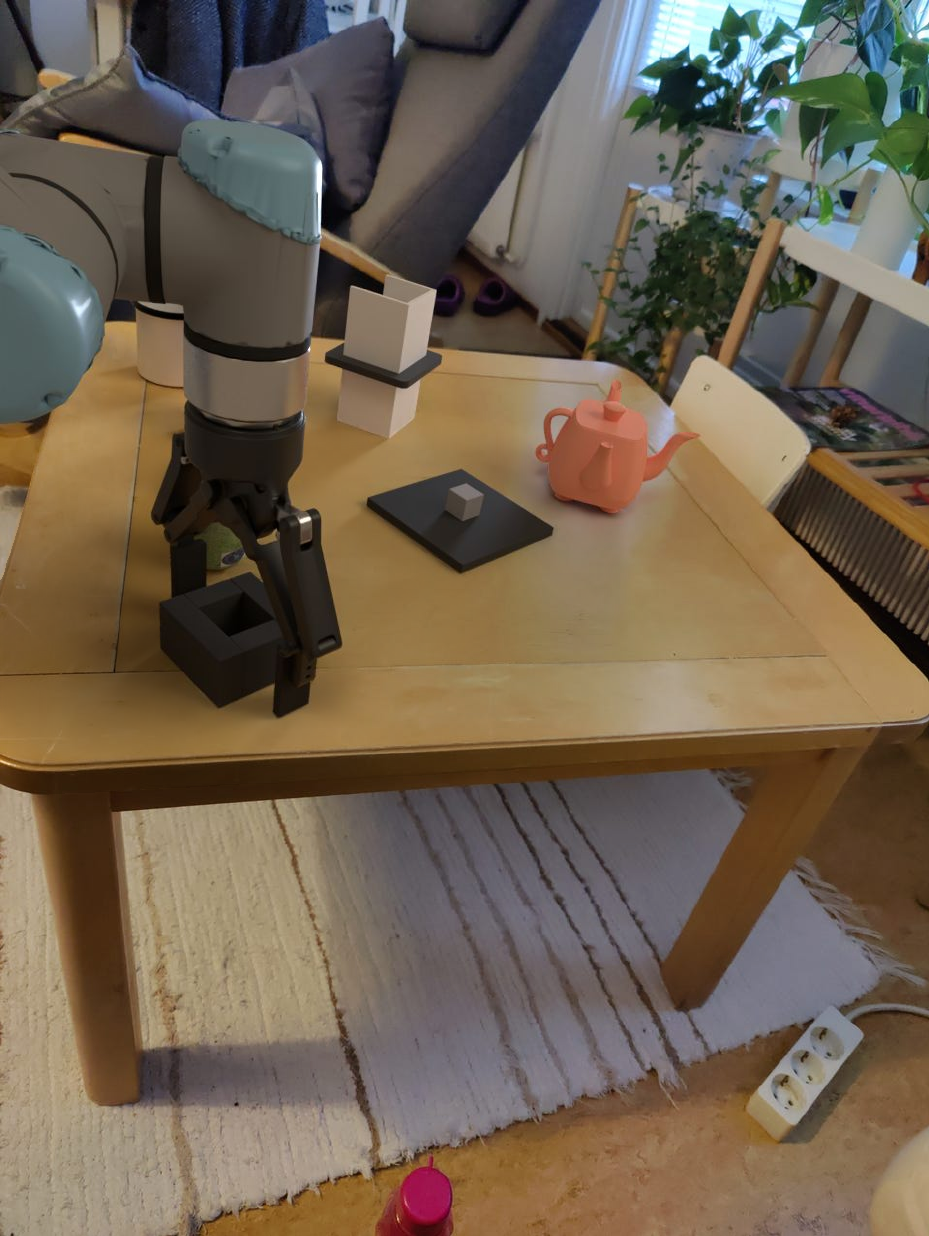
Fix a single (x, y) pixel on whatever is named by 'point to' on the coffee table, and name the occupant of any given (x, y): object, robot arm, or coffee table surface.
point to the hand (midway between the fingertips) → (237, 658)
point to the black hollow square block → (223, 637)
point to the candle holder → (384, 355)
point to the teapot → (603, 452)
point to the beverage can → (221, 546)
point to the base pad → (460, 519)
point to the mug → (160, 342)
